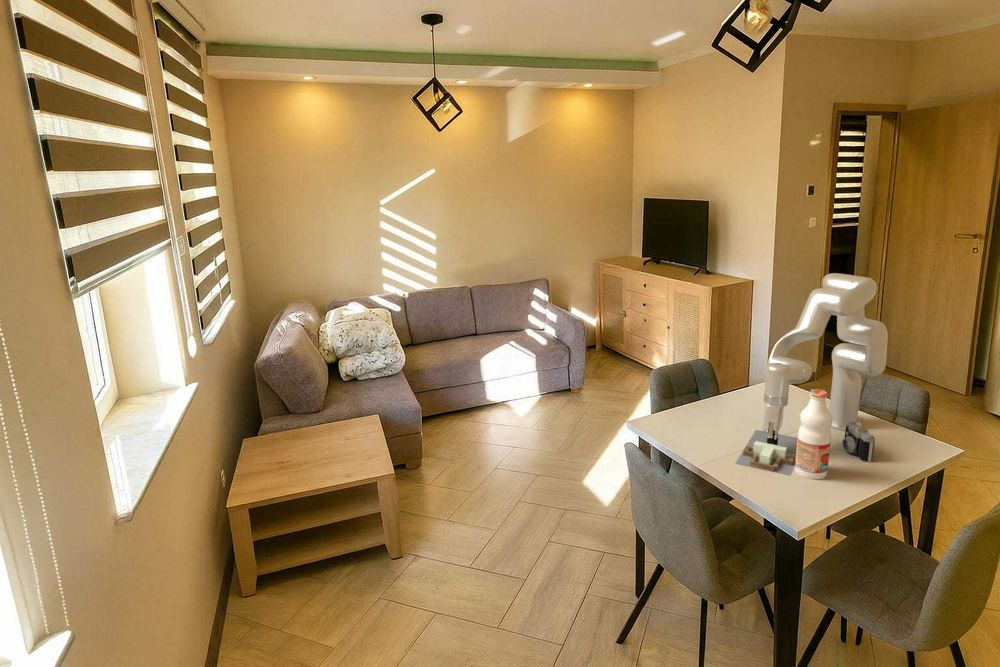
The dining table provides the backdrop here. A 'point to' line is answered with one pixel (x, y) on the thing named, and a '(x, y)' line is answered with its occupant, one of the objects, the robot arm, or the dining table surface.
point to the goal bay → (766, 466)
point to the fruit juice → (814, 438)
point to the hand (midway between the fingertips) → (771, 448)
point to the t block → (769, 452)
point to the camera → (859, 441)
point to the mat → (783, 468)
